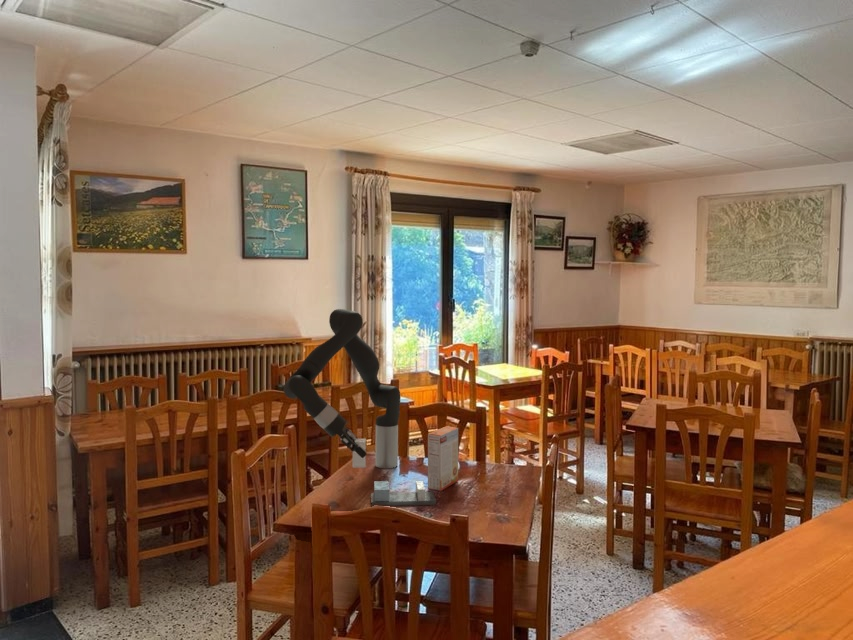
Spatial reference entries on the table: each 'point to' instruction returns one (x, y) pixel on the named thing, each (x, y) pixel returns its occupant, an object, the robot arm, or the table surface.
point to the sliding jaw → (381, 491)
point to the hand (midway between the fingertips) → (364, 453)
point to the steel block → (356, 458)
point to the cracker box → (442, 458)
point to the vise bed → (408, 497)
